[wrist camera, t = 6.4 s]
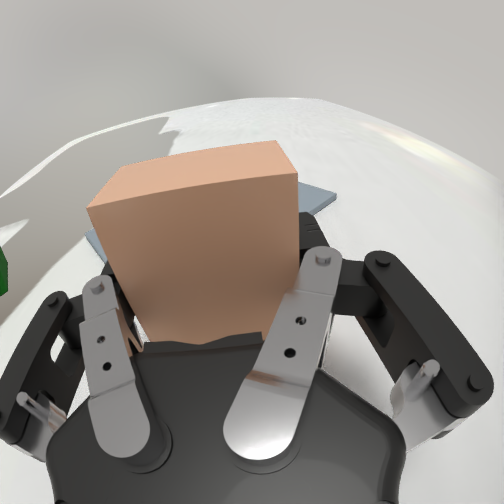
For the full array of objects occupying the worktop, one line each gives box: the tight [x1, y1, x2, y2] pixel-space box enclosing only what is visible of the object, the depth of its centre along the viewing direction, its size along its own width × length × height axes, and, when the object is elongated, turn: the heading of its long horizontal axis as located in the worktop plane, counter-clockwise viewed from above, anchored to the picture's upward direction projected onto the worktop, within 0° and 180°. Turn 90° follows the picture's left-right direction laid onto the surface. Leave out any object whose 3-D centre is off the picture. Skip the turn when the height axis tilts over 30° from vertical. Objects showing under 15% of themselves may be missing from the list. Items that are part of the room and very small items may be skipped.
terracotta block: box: [86, 140, 299, 345], centre depth 12 cm, size 4×6×10 cm, turn 95°
